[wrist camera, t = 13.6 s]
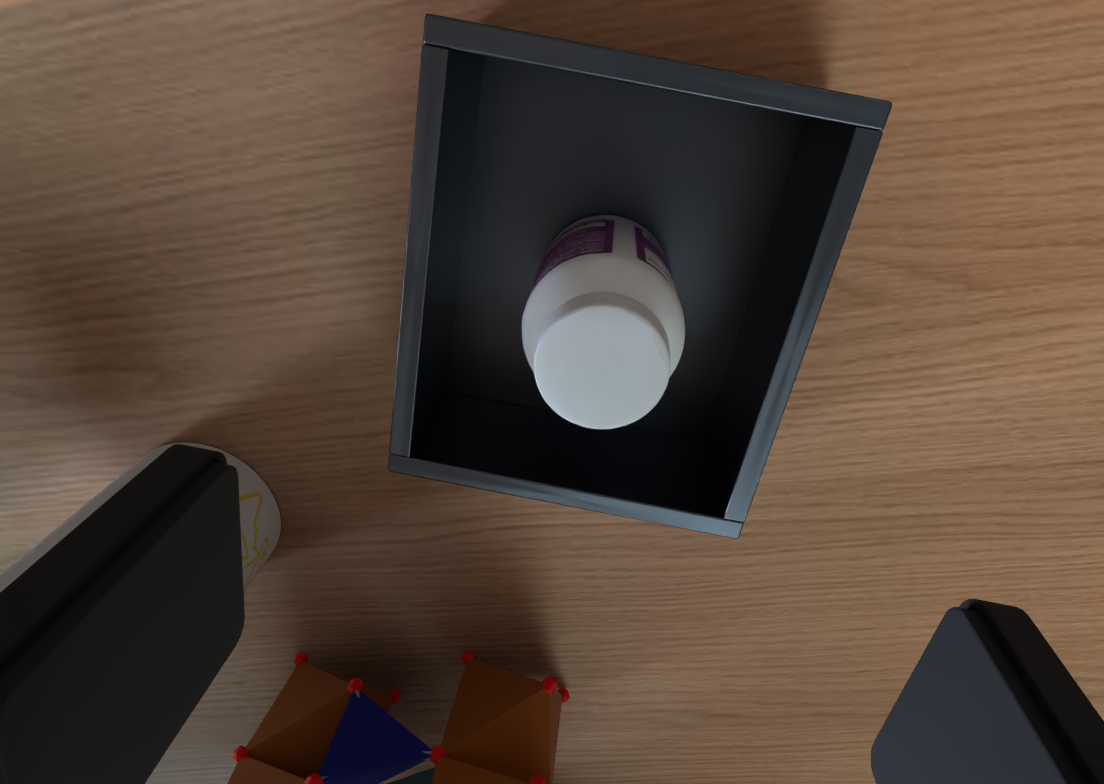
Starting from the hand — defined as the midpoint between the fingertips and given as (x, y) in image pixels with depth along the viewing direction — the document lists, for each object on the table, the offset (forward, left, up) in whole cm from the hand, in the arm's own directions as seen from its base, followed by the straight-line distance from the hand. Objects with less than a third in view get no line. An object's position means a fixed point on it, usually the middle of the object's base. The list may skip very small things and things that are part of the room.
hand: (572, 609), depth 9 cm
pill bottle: (+1, 0, -21) cm, 21 cm away
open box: (+1, 0, -22) cm, 22 cm away
